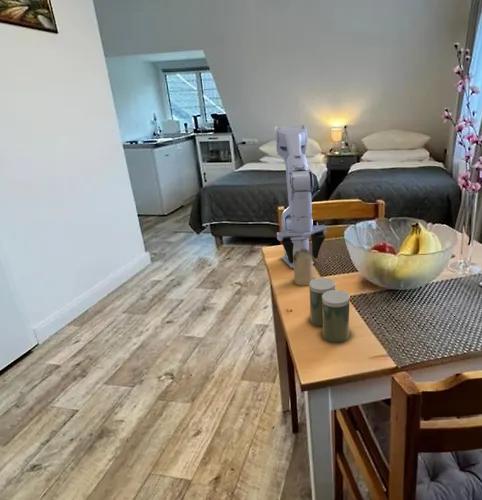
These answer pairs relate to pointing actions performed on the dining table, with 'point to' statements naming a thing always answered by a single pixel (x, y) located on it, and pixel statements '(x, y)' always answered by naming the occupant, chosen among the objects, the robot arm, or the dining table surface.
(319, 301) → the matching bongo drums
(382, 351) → the dining table surface
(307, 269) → the candle
